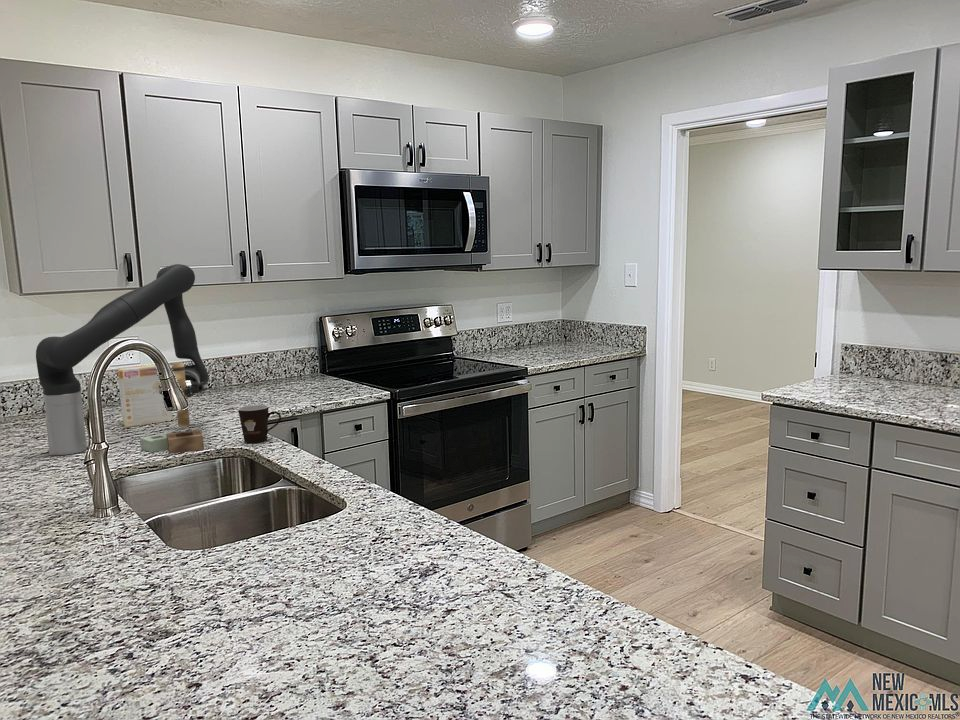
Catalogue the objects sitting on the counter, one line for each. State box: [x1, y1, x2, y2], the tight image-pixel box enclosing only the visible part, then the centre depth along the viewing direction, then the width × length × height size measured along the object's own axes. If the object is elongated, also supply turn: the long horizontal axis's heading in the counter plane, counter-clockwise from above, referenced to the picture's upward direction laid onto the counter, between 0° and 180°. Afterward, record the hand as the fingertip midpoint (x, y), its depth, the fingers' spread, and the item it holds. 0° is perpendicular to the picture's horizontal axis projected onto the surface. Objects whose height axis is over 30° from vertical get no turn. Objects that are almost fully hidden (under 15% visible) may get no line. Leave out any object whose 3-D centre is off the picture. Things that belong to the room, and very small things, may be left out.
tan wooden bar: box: [172, 362, 191, 428], centre depth 204 cm, size 3×3×18 cm
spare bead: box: [139, 432, 168, 453], centre depth 207 cm, size 7×7×3 cm
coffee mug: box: [237, 404, 282, 445], centre depth 210 cm, size 12×9×10 cm
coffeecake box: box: [117, 364, 174, 428], centre depth 243 cm, size 15×7×20 cm, turn 123°
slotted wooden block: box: [165, 429, 205, 455], centre depth 205 cm, size 9×9×4 cm
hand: (179, 392), depth 201 cm, fingers closed on tan wooden bar, 3 cm apart
